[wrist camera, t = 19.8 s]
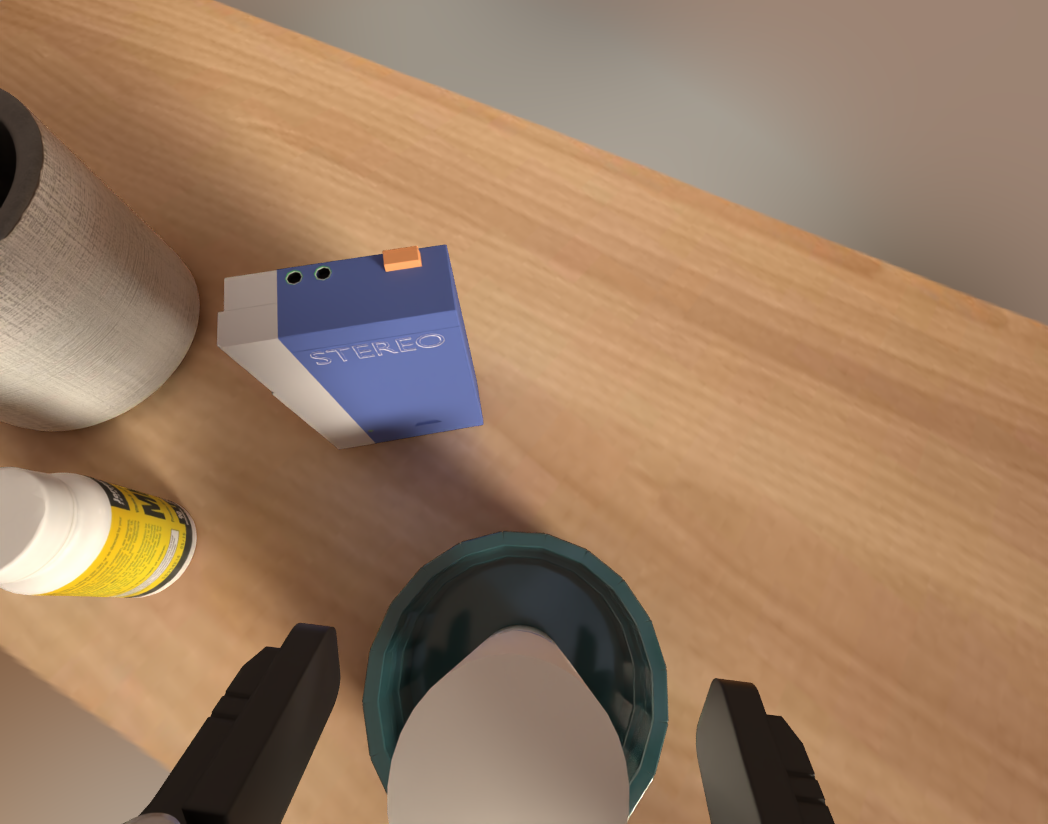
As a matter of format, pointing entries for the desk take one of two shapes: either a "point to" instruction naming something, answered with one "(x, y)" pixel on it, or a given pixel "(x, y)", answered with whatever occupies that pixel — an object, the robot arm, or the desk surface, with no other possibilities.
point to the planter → (79, 288)
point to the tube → (509, 743)
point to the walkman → (358, 344)
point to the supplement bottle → (88, 537)
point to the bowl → (521, 599)
